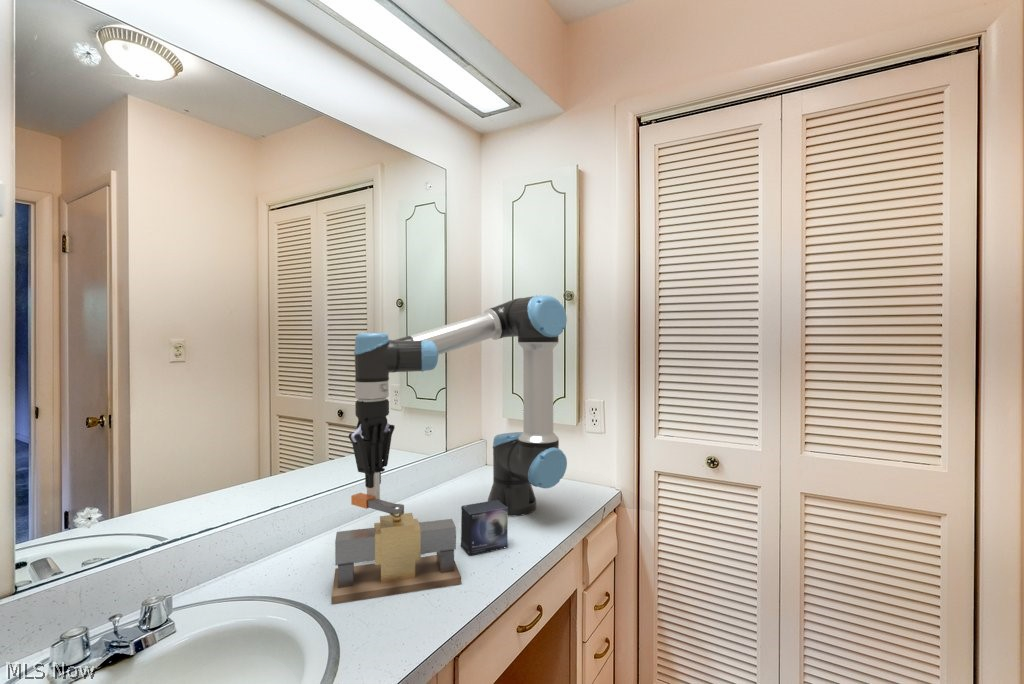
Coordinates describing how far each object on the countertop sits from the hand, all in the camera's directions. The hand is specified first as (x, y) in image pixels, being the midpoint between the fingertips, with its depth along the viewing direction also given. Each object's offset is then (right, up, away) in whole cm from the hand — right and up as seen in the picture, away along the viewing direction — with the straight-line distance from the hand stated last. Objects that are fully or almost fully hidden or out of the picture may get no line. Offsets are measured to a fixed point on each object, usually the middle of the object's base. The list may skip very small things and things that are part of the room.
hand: (373, 499), depth 110 cm
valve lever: (+2, -1, -4) cm, 5 cm away
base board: (+7, -15, -7) cm, 18 cm away
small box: (+25, -15, +9) cm, 31 cm away
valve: (+7, -14, -7) cm, 17 cm away
